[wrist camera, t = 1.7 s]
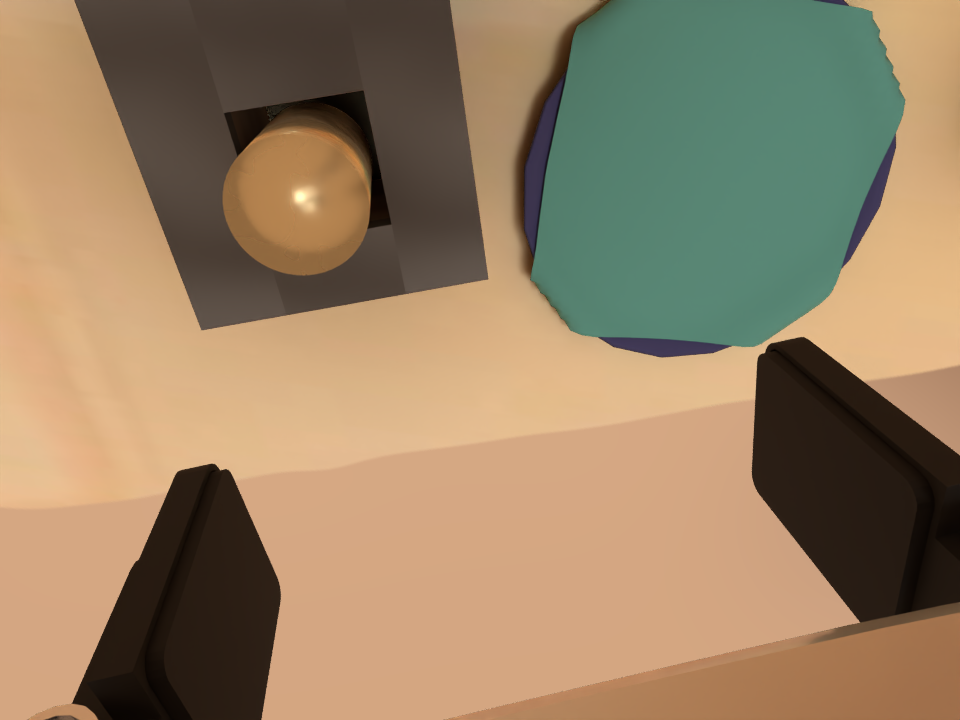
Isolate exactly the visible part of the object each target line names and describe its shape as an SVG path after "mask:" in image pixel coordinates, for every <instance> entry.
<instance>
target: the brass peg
mask: <svg viewBox="0 0 960 720" xmlns="http://www.w3.org/2000/svg"><path fill="white" fill-rule="evenodd" d="M371 181H372V154H371V149H370V146H369V143H368V141H367V138H366V136H365V134H364V133H363V131H362V130H361V128H360V127H359V126H358V124H357V123H356V122H355V121H354V120H353V119H352V118H351V117H349V116H348V115H347V114H346V113H344V112H343V111H341V110H339V109H337V108H335V107H333V106H330V105H327V104H322V103H316V102H307V103H300V104H296V105H293V106H290V107H288V108H286V109H284V110H283V111H281V112H280V113H278V114H277V115H276V116H275V117H274V118H273V119H272V120H271V121H270V122H269V123H268V125H267V126H266V127H265V128H264V129H263V130H262V131H261V132H260V133H259V134H258V135H257V136H256V138H255V139H254V140H253V141H252V142H251V143H250V144H249V145H248V146H247V147H246V148H245V149H244V151H243V152H242V153H241V154H240V155H239V156H238V157H237V158H236V159H235V161H234V162H233V164H232V165H231V167H230V169H229V171H228V173H227V176H226V179H225V182H224V187H223V210H224V214H225V218H226V221H227V224H228V226H229V229H230V231H231V232H232V234H233V236H234V238H235V239H236V241H237V242H238V243H239V245H240V246H241V247H242V248H243V249H244V250H245V251H246V252H247V253H248V254H249V255H250V256H251V257H253V258H254V259H255V260H257V261H258V262H260V263H261V264H263V265H265V266H267V267H269V268H271V269H273V270H276V271H279V272H282V273H286V274H292V275H314V274H319V273H323V272H326V271H329V270H332V269H334V268H336V267H337V266H339V265H341V264H342V263H344V262H345V261H346V260H348V259H349V258H350V257H351V256H352V255H353V254H354V253H355V251H356V250H357V249H358V248H359V246H360V244H361V243H362V241H363V239H364V237H365V234H366V232H367V228H368V224H369V216H370V200H371Z"/></svg>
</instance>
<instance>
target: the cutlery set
mask: <svg viewBox="0 0 960 720" xmlns="http://www.w3.org/2000/svg"><path fill="white" fill-rule="evenodd" d="M879 33H880V30H879V28H878V26H877V25H876V23H875V21H874V20H873V15H872V11H869V10H866V9H862V8H857V7H851V6H849V5H848V4H847V3H846V2H845V1H844V0H610V1H609V2H608V3H607V4H606V5H604V6H603V7H602V8H601V9H600V10H599V11H597V12H596V13H595V14H593V15H592V16H590V17H589V18H587V19H586V20H585V21H583V22H582V23H580V24H579V25H578V26H577V28H576V31H575V33H574V36H573V40H572V46H571V52H570V58H569V64H568V68H567V70H566V71H565V73H564V74H563V76H562V77H561V79H560V80H559V82H558V83H557V85H556V86H555V88H554V89H553V90H552V92H551V93H550V95H549V96H548V98H547V99H546V101H545V103H544V106H543V109H542V112H541V115H540V118H539V122H538V125H537V128H536V131H535V134H534V137H533V141H532V144H531V147H530V150H529V153H528V156H527V160H526V163H525V166H524V231H525V234H526V237H527V240H528V243H529V246H530V249H531V252H532V255H533V258H534V263H533V267H532V273H531V279H530V280H531V281H533V282H535V284H536V286H537V287H538V289H539V291H540V293H542V294H544V295H545V296H546V298H547V300H548V301H549V303H550V305H551V306H552V307H555V309H556V311H557V312H558V314H559V316H560V318H561V319H563V320H564V321H565V322H566V324H567V326H568V327H569V329H570V330H571V331H573V332H576V333H578V334H581V335H585V336H592V337H598V338H600V339H602V340H603V341H605V342H606V343H608V344H610V345H611V346H613V347H616V348H620V349H625V350H630V351H634V352H639V353H643V354H648V355H653V356H657V357H674V356H685V355H697V354H708V353H714V352H717V351H720V350H722V349H725V348H728V347H731V346H741V347H754V346H757V345H759V344H762V343H763V342H765V341H766V340H768V339H769V338H771V337H772V336H773V335H775V334H776V333H778V332H779V331H781V330H782V329H784V328H785V327H787V326H788V325H790V324H791V323H793V322H794V321H796V320H797V319H799V318H800V317H802V316H803V315H805V314H806V313H808V312H809V311H811V310H812V309H813V308H815V307H816V306H818V305H819V304H820V303H822V302H823V301H824V300H825V299H826V298H827V297H828V296H829V295H830V293H831V292H832V290H833V288H834V286H835V285H836V282H837V279H838V277H839V274H840V271H841V269H842V268H843V266H844V265H845V264H846V263H847V262H848V261H849V260H850V259H851V257H852V255H853V253H854V252H855V250H856V248H857V246H858V244H859V243H860V241H861V239H862V237H863V236H864V234H865V232H866V230H867V229H868V227H869V225H870V223H871V221H872V220H873V218H874V216H875V214H876V213H877V211H878V209H879V207H880V205H881V201H882V197H883V193H884V190H885V186H886V182H887V179H888V175H889V171H890V167H891V164H892V160H893V156H894V153H895V149H896V131H897V129H898V126H899V124H900V121H901V118H902V116H903V111H904V105H905V99H904V97H903V95H902V93H901V91H900V90H899V85H900V83H899V82H898V80H897V79H896V77H895V76H894V74H893V73H892V72H893V65H892V64H891V62H890V61H889V59H888V58H887V56H886V50H887V49H886V47H885V45H884V44H883V42H882V41H881V39H880V38H879Z"/></svg>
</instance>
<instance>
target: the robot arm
mask: <svg viewBox="0 0 960 720" xmlns="http://www.w3.org/2000/svg"><path fill="white" fill-rule="evenodd" d="M752 478H753V482H754V485H755V487H756V490H757V492H758V493H759V495H760V496H761V497H762V498H763V500H764V501H765V502H766V503H767V505H768V506H769V507H770V508H771V510H772V511H773V512H774V514H775V515H776V516H777V517H778V519H779V520H780V521H781V522H782V524H783V525H784V526H785V528H786V529H787V530H788V531H789V532H790V534H791V535H792V536H793V537H794V539H795V540H796V541H797V543H798V544H799V545H800V547H801V548H802V549H803V550H804V552H805V553H806V554H807V555H808V557H809V558H810V559H811V560H812V562H813V563H814V564H815V565H816V567H817V568H818V569H819V571H820V572H821V573H822V574H823V576H824V577H825V578H826V579H827V581H828V582H829V583H830V585H831V586H832V587H833V588H834V590H835V591H836V592H837V593H838V595H839V596H840V597H841V598H842V600H843V601H844V602H845V604H846V605H847V606H848V607H849V608H850V610H851V611H852V612H853V614H854V615H855V616H856V617H857V619H858V620H859V621H860V623H857V624H852V625H847V626H843V627H838V628H834V629H830V630H826V631H821V632H817V633H813V634H808V635H804V636H799V637H795V638H791V639H786V640H782V641H777V642H773V643H769V644H764V645H760V646H756V647H751V648H747V649H742V650H738V651H734V652H729V653H725V654H721V655H717V656H712V657H708V658H704V659H699V660H695V661H690V662H686V663H682V664H677V665H673V666H669V667H665V668H660V669H656V670H652V671H648V672H643V673H639V674H635V675H631V676H626V677H622V678H618V679H613V680H609V681H605V682H600V683H596V684H593V685H588V686H584V687H579V688H575V689H571V690H567V691H562V692H559V693H554V694H550V695H546V696H541V697H537V698H533V699H529V700H524V701H520V702H516V703H512V704H507V705H503V706H499V707H495V708H491V709H486V710H482V711H478V712H474V713H470V714H466V715H462V716H458V717H453V718H449V719H445V720H960V455H959V454H957V453H956V452H955V451H953V450H952V449H951V448H949V447H948V446H947V445H945V444H944V443H943V442H941V441H940V440H939V439H938V438H936V437H935V436H934V435H932V434H931V433H930V432H928V431H927V430H926V429H925V428H923V427H922V426H921V425H919V424H918V423H917V422H915V421H914V420H913V419H911V418H910V417H909V416H908V415H906V414H905V413H903V412H902V411H901V410H900V409H898V408H897V407H896V406H894V405H893V404H892V403H891V402H889V401H888V400H887V399H885V398H884V397H883V396H881V395H880V394H879V393H878V392H876V391H875V390H874V389H872V388H871V387H870V386H868V385H867V384H866V383H864V382H863V381H862V380H861V379H859V378H858V377H857V376H855V375H854V374H853V373H851V372H850V371H849V370H847V369H846V368H845V367H844V366H842V365H841V364H840V363H838V362H837V361H836V360H834V359H833V358H832V357H830V356H829V355H828V354H827V353H825V352H824V351H823V350H821V349H820V348H819V347H817V346H816V345H815V344H813V343H812V342H811V341H810V340H808V339H806V338H804V337H799V338H795V339H790V340H785V341H781V342H776V343H771V344H770V345H768V347H767V349H766V352H765V353H764V354H761V355H759V357H758V361H757V378H756V398H755V420H754V439H753V460H752ZM280 600H281V592H280V585H279V582H278V579H277V576H276V574H275V572H274V569H273V567H272V565H271V563H270V560H269V558H268V556H267V554H266V551H265V549H264V547H263V544H262V542H261V540H260V537H259V535H258V533H257V531H256V528H255V526H254V524H253V521H252V519H251V517H250V515H249V512H248V510H247V508H246V506H245V503H244V501H243V499H242V496H241V494H240V492H239V490H238V488H237V485H236V483H235V481H234V478H233V476H232V474H231V472H230V471H229V470H227V469H225V470H219V468H218V467H217V466H216V465H215V464H208V465H203V466H199V467H194V468H189V469H185V470H181V471H178V472H177V474H176V475H175V477H174V479H173V482H172V484H171V486H170V489H169V491H168V493H167V496H166V498H165V500H164V503H163V505H162V507H161V510H160V512H159V514H158V517H157V519H156V521H155V524H154V526H153V528H152V531H151V533H150V535H149V537H148V540H147V542H146V544H145V547H144V549H143V551H142V554H141V556H140V558H139V560H138V561H136V562H135V564H134V565H133V567H132V569H131V570H130V572H129V575H128V577H127V579H126V582H125V584H124V586H123V588H122V591H121V593H120V595H119V598H118V600H117V602H116V604H115V607H114V609H113V611H112V613H111V616H110V618H109V620H108V622H107V625H106V627H105V629H104V632H103V634H102V636H101V639H100V641H99V643H98V646H97V648H96V650H95V652H94V654H93V657H92V659H91V662H90V664H89V666H88V668H87V670H86V673H85V675H84V678H83V680H82V682H81V684H80V686H79V689H78V691H77V693H76V696H75V698H74V700H73V703H72V704H67V705H61V706H55V707H52V708H50V709H47V710H45V711H43V712H40V713H38V714H36V715H34V716H32V717H31V718H29V719H28V720H261V718H262V712H263V706H264V699H265V694H266V687H267V681H268V675H269V669H270V663H271V656H272V650H273V644H274V638H275V631H276V625H277V619H278V613H279V607H280Z"/></svg>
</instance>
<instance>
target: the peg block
mask: <svg viewBox="0 0 960 720" xmlns="http://www.w3.org/2000/svg"><path fill="white" fill-rule="evenodd" d="M75 3H76V6H77V8H78V11H79V13H80V16H81V19H82V21H83V24H84V26H85V29H86V32H87V34H88V37H89V39H90V42H91V45H92V47H93V50H94V52H95V55H96V57H97V60H98V63H99V65H100V68H101V70H102V73H103V76H104V78H105V81H106V83H107V86H108V89H109V91H110V94H111V96H112V99H113V102H114V104H115V107H116V109H117V112H118V115H119V117H120V120H121V122H122V125H123V128H124V130H125V133H126V135H127V138H128V141H129V143H130V146H131V148H132V151H133V154H134V156H135V159H136V161H137V164H138V167H139V169H140V172H141V174H142V177H143V179H144V182H145V185H146V187H147V190H148V192H149V195H150V198H151V200H152V203H153V205H154V208H155V211H156V213H157V216H158V218H159V221H160V224H161V226H162V229H163V231H164V234H165V237H166V239H167V242H168V244H169V247H170V250H171V252H172V255H173V257H174V260H175V263H176V265H177V268H178V270H179V273H180V276H181V278H182V281H183V283H184V286H185V288H186V291H187V294H188V296H189V299H190V301H191V304H192V307H193V309H194V312H195V314H196V317H197V320H198V322H199V325H200V327H201V330H206V329H212V328H218V327H223V326H229V325H234V324H240V323H246V322H251V321H257V320H262V319H268V318H274V317H279V316H285V315H291V314H296V313H302V312H307V311H313V310H319V309H324V308H330V307H335V306H341V305H347V304H352V303H358V302H363V301H369V300H375V299H380V298H386V297H391V296H397V295H403V294H408V293H414V292H419V291H425V290H431V289H436V288H442V287H448V286H453V285H459V284H464V283H470V282H476V281H481V280H487V279H488V273H487V266H486V259H485V251H484V244H483V237H482V230H481V223H480V216H479V208H478V201H477V194H476V187H475V180H474V173H473V165H472V158H471V151H470V144H469V137H468V130H467V122H466V115H465V108H464V101H463V94H462V87H461V79H460V72H459V65H458V58H457V51H456V43H455V36H454V29H453V22H452V15H451V8H450V0H75ZM362 90H364V94H365V99H366V104H367V109H368V114H369V118H370V123H371V128H372V133H373V138H374V142H375V147H376V152H377V157H378V162H379V167H380V171H381V176H382V179H378V180H372V181H371V200H370V216H369V224H368V228H367V232H366V234H365V237H364V239H363V241H362V243H361V244H360V246H359V248H358V249H357V250H356V251H355V253H354V254H353V255H352V256H351V257H350V258H349V259H348V260H346V261H345V262H344V263H342V264H341V265H339V266H337V267H336V268H334V269H332V270H329V271H326V272H323V273H319V274H314V275H292V274H286V273H282V272H279V271H276V270H273V269H271V268H269V267H267V266H265V265H263V264H261V263H260V262H258V261H257V260H255V259H254V258H253V257H251V256H250V255H249V254H248V253H247V252H246V251H245V250H244V249H243V248H242V247H241V246H240V245H239V243H238V242H237V241H236V239H235V238H234V236H233V234H232V232H231V231H230V229H229V226H228V224H227V221H226V218H225V214H224V210H223V187H224V182H225V179H226V176H227V173H228V171H229V169H230V167H231V165H232V164H233V162H234V161H235V159H236V158H237V157H238V156H239V155H240V154H241V153H242V152H243V151H244V149H245V148H246V147H247V146H248V145H249V144H250V143H251V142H252V141H253V140H254V139H255V138H256V136H257V135H258V134H259V133H260V132H261V131H262V130H263V129H264V128H265V127H266V126H267V125H268V123H269V118H268V114H267V111H266V107H265V106H270V105H276V104H282V103H288V102H295V101H301V100H307V99H313V98H319V97H325V96H331V95H338V94H344V93H350V92H356V91H362Z"/></svg>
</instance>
